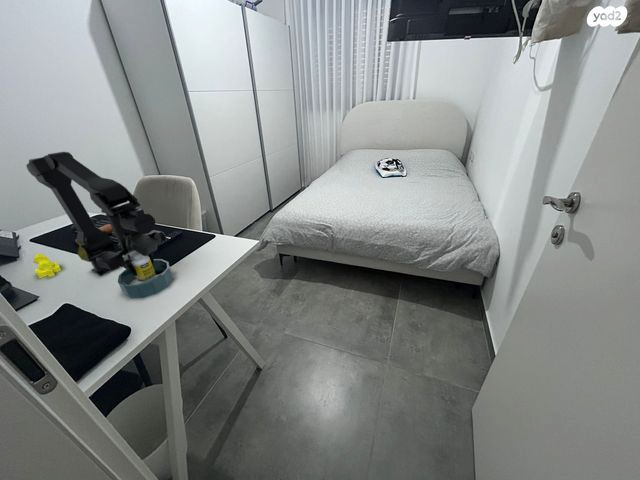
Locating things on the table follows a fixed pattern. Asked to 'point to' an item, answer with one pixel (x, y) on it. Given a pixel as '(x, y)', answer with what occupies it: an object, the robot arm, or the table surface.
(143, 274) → the supplement bottle
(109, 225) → the sunglasses case
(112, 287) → the table surface
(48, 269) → the crumpled paper
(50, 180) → the robot arm
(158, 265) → the teal ring-shaped band
